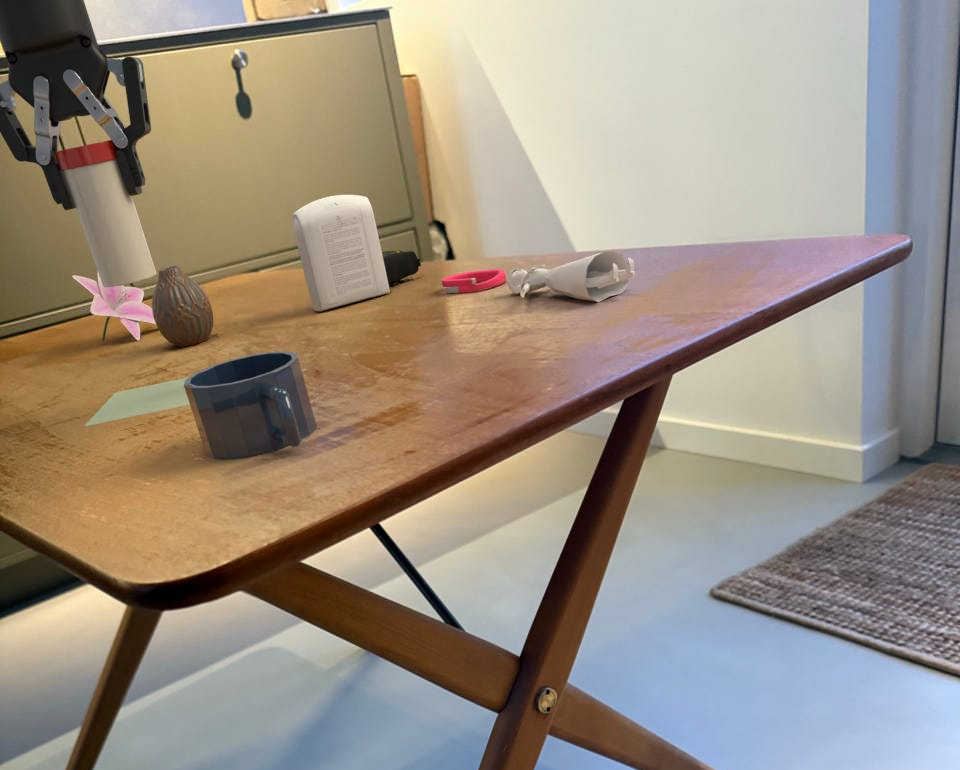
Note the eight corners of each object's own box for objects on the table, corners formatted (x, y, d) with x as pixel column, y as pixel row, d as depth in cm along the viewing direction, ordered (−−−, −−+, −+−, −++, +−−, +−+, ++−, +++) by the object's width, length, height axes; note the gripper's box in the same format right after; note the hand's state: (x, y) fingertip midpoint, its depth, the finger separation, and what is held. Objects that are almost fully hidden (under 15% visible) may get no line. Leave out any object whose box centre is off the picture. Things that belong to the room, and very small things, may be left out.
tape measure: (385, 291, 131) (379, 261, 130) (352, 291, 136) (345, 262, 134) (424, 277, 135) (418, 247, 134) (390, 277, 140) (384, 249, 138)
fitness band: (433, 294, 123) (430, 281, 123) (462, 281, 127) (460, 269, 126) (486, 291, 118) (484, 278, 118) (515, 278, 122) (513, 265, 122)
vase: (153, 353, 124) (128, 278, 120) (181, 338, 129) (157, 266, 125) (204, 346, 122) (180, 270, 118) (229, 331, 127) (207, 257, 123)
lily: (93, 363, 131) (104, 290, 126) (46, 325, 136) (55, 253, 132) (174, 364, 140) (187, 296, 135) (127, 328, 145) (138, 261, 141)
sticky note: (85, 431, 96) (83, 426, 96) (116, 397, 106) (114, 392, 106) (231, 401, 95) (229, 396, 95) (248, 369, 106) (246, 365, 106)
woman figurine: (577, 265, 97) (466, 275, 111) (586, 313, 99) (475, 316, 113) (662, 235, 102) (546, 248, 116) (669, 281, 104) (554, 288, 118)
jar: (94, 291, 93) (45, 153, 88) (109, 281, 98) (63, 150, 92) (152, 279, 93) (107, 140, 88) (164, 269, 98) (122, 137, 92)
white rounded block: (383, 290, 133) (360, 187, 127) (396, 292, 129) (372, 187, 123) (309, 310, 129) (282, 206, 124) (319, 314, 126) (292, 207, 120)
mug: (193, 452, 83) (168, 379, 80) (290, 417, 86) (270, 346, 84) (247, 480, 74) (222, 399, 71) (354, 440, 77) (334, 362, 74)
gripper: (125, -33, 87) (189, 181, 95) (-39, 3, 88) (39, 213, 96) (102, -42, 81) (173, 189, 89) (-75, -3, 81) (12, 223, 89)
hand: (103, 200), depth 92 cm, fingers closed on jar, 5 cm apart
